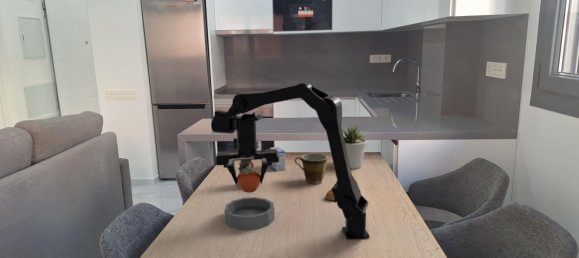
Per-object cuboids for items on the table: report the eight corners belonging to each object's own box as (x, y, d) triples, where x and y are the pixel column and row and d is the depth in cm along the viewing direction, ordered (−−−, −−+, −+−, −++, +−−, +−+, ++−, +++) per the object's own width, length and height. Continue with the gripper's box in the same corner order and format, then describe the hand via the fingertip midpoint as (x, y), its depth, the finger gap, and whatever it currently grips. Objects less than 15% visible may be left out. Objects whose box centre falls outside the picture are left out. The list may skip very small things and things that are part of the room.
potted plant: (329, 165, 175) (329, 121, 171) (354, 160, 182) (355, 117, 177) (346, 172, 165) (346, 126, 160) (372, 167, 171) (373, 122, 167)
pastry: (335, 203, 134) (335, 193, 133) (320, 198, 139) (320, 188, 138) (352, 196, 140) (352, 186, 140) (337, 191, 145) (337, 181, 144)
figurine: (246, 181, 156) (245, 152, 154) (260, 185, 152) (259, 155, 150) (234, 187, 151) (232, 156, 148) (248, 190, 147) (247, 159, 144)
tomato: (263, 185, 125) (261, 161, 123) (259, 194, 117) (257, 169, 116) (241, 186, 126) (238, 162, 124) (235, 195, 118) (232, 170, 117)
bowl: (275, 228, 117) (275, 215, 116) (224, 231, 115) (223, 218, 115) (272, 207, 131) (272, 196, 131) (227, 209, 130) (226, 198, 129)
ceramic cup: (329, 178, 158) (330, 154, 156) (323, 187, 149) (323, 161, 147) (299, 175, 163) (299, 152, 160) (291, 183, 153) (290, 158, 151)
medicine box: (269, 166, 175) (268, 147, 173) (278, 165, 177) (278, 146, 175) (276, 171, 168) (275, 152, 166) (285, 170, 170) (285, 150, 168)
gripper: (276, 127, 126) (277, 173, 130) (217, 130, 125) (220, 176, 128) (278, 135, 115) (279, 185, 119) (214, 138, 114) (217, 189, 117)
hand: (248, 183), depth 121 cm, fingers closed on tomato, 7 cm apart
